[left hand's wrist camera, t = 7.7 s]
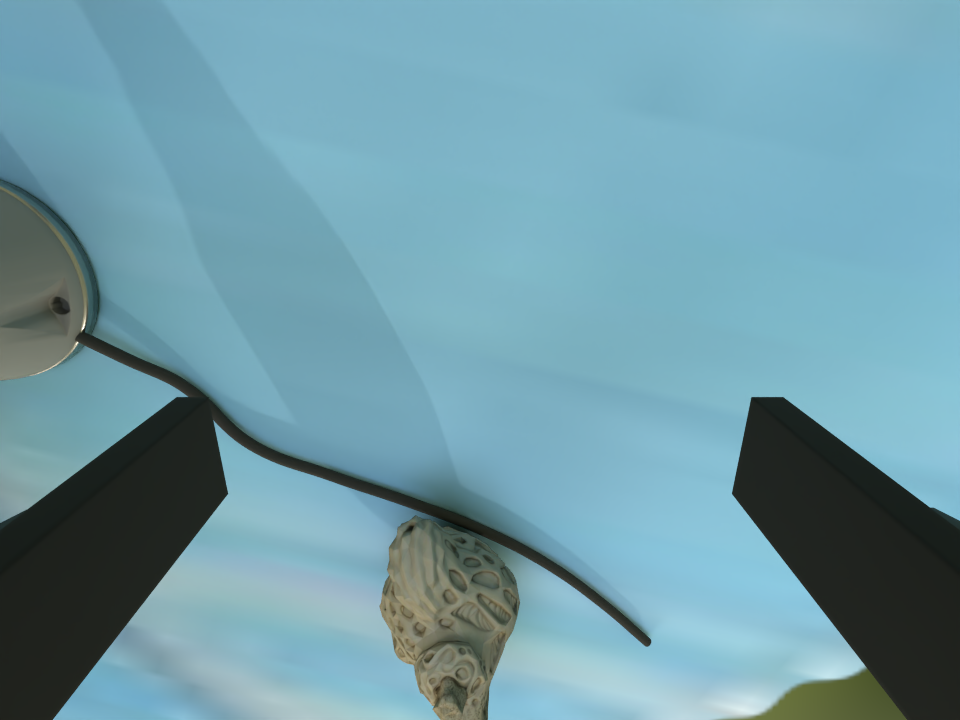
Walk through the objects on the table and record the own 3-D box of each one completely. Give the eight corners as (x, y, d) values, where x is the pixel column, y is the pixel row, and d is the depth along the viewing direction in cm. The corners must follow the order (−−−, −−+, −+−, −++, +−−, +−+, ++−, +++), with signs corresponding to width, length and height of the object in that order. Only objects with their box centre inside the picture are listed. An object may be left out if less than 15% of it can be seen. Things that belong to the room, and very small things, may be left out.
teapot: (363, 482, 46) (310, 623, 31) (490, 457, 45) (494, 589, 31) (426, 655, 53) (406, 831, 39) (536, 635, 52) (557, 810, 38)
